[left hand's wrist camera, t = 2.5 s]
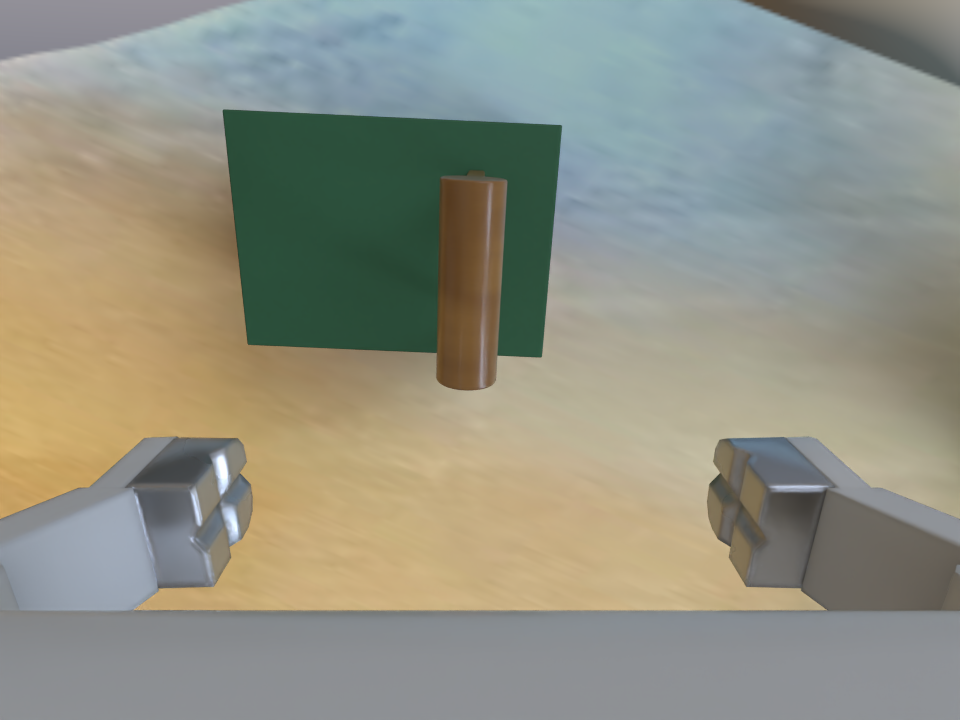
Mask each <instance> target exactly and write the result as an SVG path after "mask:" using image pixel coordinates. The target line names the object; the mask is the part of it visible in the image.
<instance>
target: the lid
mask: <svg viewBox="0 0 960 720" xmlns="http://www.w3.org/2000/svg"><path fill="white" fill-rule="evenodd" d="M223 118H224V127H225V136H226V146H227V155H228V164H229V173H230V183H231V192H232V201H233V211H234V220H235V229H236V239H237V248H238V257H239V267H240V276H241V285H242V295H243V304H244V313H245V323H246V332H247V341H248V345H267V346H290V347H313V348H336V349H358V350H381V351H404V352H427V353H437V368H436V378H437V380H438V382H439V383H440V384H442V385H444V386H446V387H449V388H452V389H457V390H479V389H484V388H487V387H490V386H491V385H493V384H494V383H495V381H496V371H497V356H519V357H542V349H543V338H544V327H545V315H546V304H547V292H548V281H549V269H550V258H551V247H552V235H553V224H554V212H555V201H556V189H557V178H558V166H559V155H560V144H561V132H562V126H561V125H546V124H524V123H503V122H481V121H460V120H438V119H417V118H395V117H374V116H352V115H331V114H310V113H288V112H267V111H245V110H223Z"/></svg>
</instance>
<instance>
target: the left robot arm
mask: <svg viewBox="0 0 960 720" xmlns="http://www.w3.org/2000/svg"><path fill="white" fill-rule="evenodd" d="M246 462H247V460H246V455H245V450H244V445H243V444H242V443H241V441H240V440H239V439H238V438H188V437H181V438H179V437H152V438H144V439H143V440H142V441H141V442H139V443H138V444H137V445H136V446H135V447H134V448H133V449H132V450H131V451H129V452H128V453H127V454H126V455H125V456H124V457H123V458H122V459H120V460H119V461H118V462H117V463H116V464H115V465H114V466H113V467H111V468H110V469H109V470H108V471H107V472H106V473H105V474H104V475H103V476H101V477H100V478H99V479H98V480H97V481H96V482H95V483H94V484H92V485H91V486H90V487H89V488H77V489H75V490H72V491H70V492H67V493H65V494H62V495H60V496H57V497H55V498H52V499H50V500H47V501H45V502H42V503H40V504H37V505H35V506H32V507H30V508H27V509H24V510H22V511H19V512H17V513H14V514H12V515H9V516H7V517H4V518H2V519H0V720H960V519H958V518H955V517H953V516H950V515H948V514H945V513H943V512H940V511H938V510H935V509H933V508H930V507H928V506H925V505H923V504H920V503H918V502H915V501H913V500H910V499H908V498H905V497H903V496H900V495H898V494H895V493H893V492H890V491H888V490H885V489H883V488H871V487H870V486H869V485H868V484H866V483H865V482H864V481H863V480H862V479H861V478H860V477H859V476H858V475H856V474H855V473H854V472H853V471H852V470H851V469H850V468H849V467H847V466H846V465H845V464H844V463H843V462H842V461H841V460H840V459H839V458H837V457H836V456H835V455H834V454H833V453H832V452H831V451H830V450H829V449H827V448H826V447H825V446H824V445H823V444H822V443H821V442H820V441H818V440H817V439H815V438H812V437H788V438H784V437H772V438H730V439H722V440H719V442H718V444H717V446H716V449H715V454H714V459H713V462H714V464H715V466H716V467H717V469H718V470H719V472H720V474H719V475H718V476H717V477H716V478H715V479H714V480H713V481H712V482H711V483H710V484H709V490H708V498H707V506H708V517H709V520H710V523H711V527H712V529H713V531H714V533H715V535H716V536H717V538H718V539H719V540H720V541H722V542H724V543H725V544H727V545H728V546H730V547H731V548H730V553H729V559H730V560H731V562H732V564H733V565H734V567H735V569H736V570H737V572H738V574H739V575H740V577H741V579H742V580H743V582H744V584H745V585H746V587H774V588H802V589H801V591H802V592H804V593H805V594H806V595H808V596H809V597H810V598H812V599H813V600H814V601H816V602H817V603H819V604H820V605H821V606H823V607H824V608H825V609H827V610H828V611H657V610H656V611H654V610H650V611H644V610H134V609H135V608H136V607H138V606H139V605H140V604H142V603H143V602H144V601H146V600H147V599H148V598H150V597H151V596H152V595H154V594H155V593H157V592H158V591H159V589H158V588H185V587H214V586H215V584H216V582H217V581H218V579H219V577H220V575H221V574H222V572H223V570H224V569H225V567H226V565H227V564H228V562H229V560H230V559H231V553H230V548H229V547H230V546H232V545H233V544H235V543H236V542H238V541H240V540H241V539H242V538H243V536H244V535H245V533H246V531H247V529H248V527H249V523H250V519H251V515H252V509H253V496H252V490H251V484H250V483H249V482H248V481H247V480H246V479H245V478H244V477H243V476H242V475H241V474H240V472H241V470H242V469H243V467H244V466H245V464H246Z"/></svg>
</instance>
